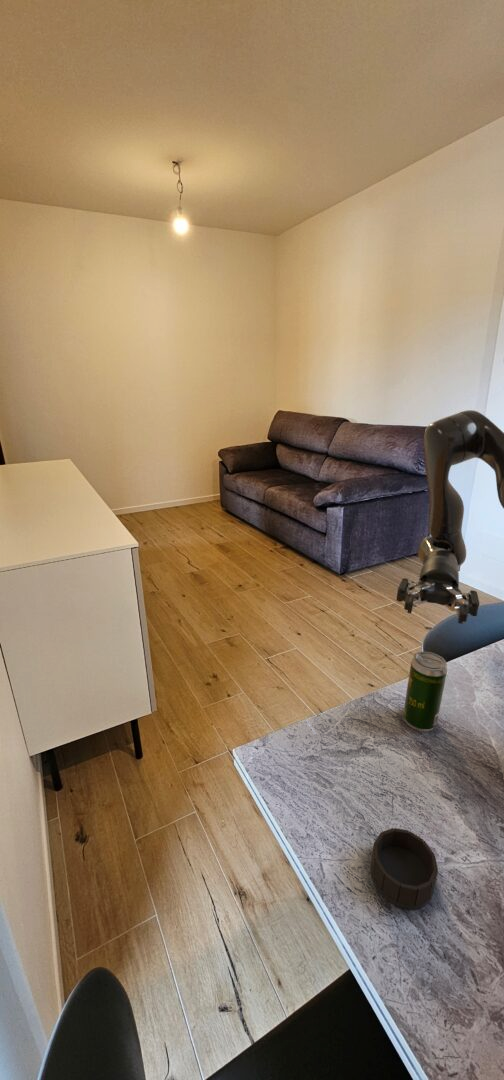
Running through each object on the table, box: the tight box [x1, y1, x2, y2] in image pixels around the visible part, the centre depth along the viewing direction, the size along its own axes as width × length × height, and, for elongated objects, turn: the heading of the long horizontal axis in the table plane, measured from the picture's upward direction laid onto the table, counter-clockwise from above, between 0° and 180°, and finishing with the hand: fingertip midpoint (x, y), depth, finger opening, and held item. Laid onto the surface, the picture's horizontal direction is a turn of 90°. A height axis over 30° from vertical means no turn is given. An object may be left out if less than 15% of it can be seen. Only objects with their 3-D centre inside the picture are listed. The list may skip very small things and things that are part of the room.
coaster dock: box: [370, 827, 439, 911], centre depth 52 cm, size 7×7×3 cm
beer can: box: [402, 651, 448, 733], centre depth 73 cm, size 5×5×12 cm
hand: (435, 613), depth 80 cm, fingers open, 8 cm apart
